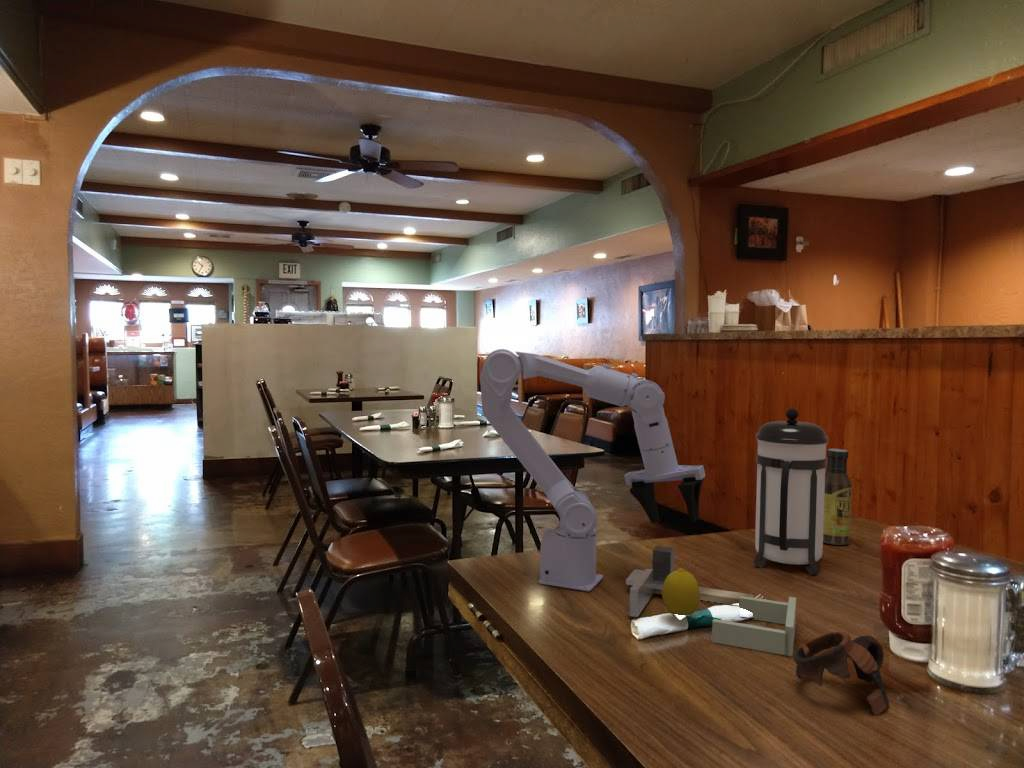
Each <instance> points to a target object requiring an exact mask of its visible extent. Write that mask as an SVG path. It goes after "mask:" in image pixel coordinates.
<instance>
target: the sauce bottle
mask: <svg viewBox="0 0 1024 768" xmlns="http://www.w3.org/2000/svg"><path fill="white" fill-rule="evenodd" d="M826 457H827V467H826V470H827V471H825V493H824V524H823V544H824V543H825V544H829V545H834V546H843V545H844V546H845V545H848V544H849V542H850V536H851V519H852V503H853V483H852V480H851V478H850V476H849V474H848V473H847V471H848V469H847V467H848V458H849V450H846V449H842V448H828V449H827V450H826Z"/></svg>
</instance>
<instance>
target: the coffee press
mask: <svg viewBox="0 0 1024 768" xmlns="http://www.w3.org/2000/svg"><path fill="white" fill-rule="evenodd" d="M785 416H786V418H787V420H776V421H769V422H766V423H764V424H763V425H761V426H760V427H759V429H758V432H756V433H755V438H756V441H757V452H756V455H755V463H756V465H757V466H756V494H755V495H756V497H755V498H756V501H755V502H756V504H755V542H754V543H755V550H756V552H757V554H756V555H755V557H754V559H753V562H752V563H753V565H754V566H755V567H758V568H760V569H762V568H764V567H765V566H766V564H767V563H768V562H772V561H773V562H775V563H776V562H777V563H781V564H785V565H787V564H788V565H800V566H802V567H803V568H804V569H805V570H806V572H807V574H808V575H809V576H816V575H819V574H820V569H819V567H818V565H817V562H821V561H822V558H823V557H822V556H823V547H824V545H823V544H824V542H823V524H824V493H825V474H826V469H827V467H828V456H827V445H828V443H829V436H827V434H826V431H825V429H823V428H822V427H821V426H820V425H818V424H815V423H812V422H807V421H800V420H799V421H798V420H797V419H798V418H799V417H798V416H800V414H799V411H798V410H797V409H796V408H793V407H792V408H789V409H787V410H786V412H785ZM762 558H763V559H762Z"/></svg>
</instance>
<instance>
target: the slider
mask: <svg viewBox="0 0 1024 768" xmlns="http://www.w3.org/2000/svg"><path fill="white" fill-rule="evenodd" d="M673 571H675V547H671V546H663V545H662V546H661V545H656V546H655V547H654V548H653V550H652V568H645V569H644V570H643V569H638V568H637V569H635V568H634V569H633V571H632V572H631V573H630V575H628V577H626V579H625V585H627V586H631V587H629V617H633V618H638V617H639V616H640V614H641V613H642V611H643V610H644V608H645V607H646V606H647V604H648V602H649V601H650V600H651V598H652V596H653V595H654V593H653V589H660V590H663V585H664V581H665V579H666V577H667V576H668V575H669V574H670V573H671V572H673Z"/></svg>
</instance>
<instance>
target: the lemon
mask: <svg viewBox="0 0 1024 768" xmlns="http://www.w3.org/2000/svg"><path fill="white" fill-rule="evenodd" d="M699 587H700V586H699V582H698V581H697V579H696V578H695V576H694V575H693V574H692V573H691V572H689V571H687V570H685V569H684V568H682V567H679V568H678V569H677V570H674V571H673V572H671V573H670V574H669V575H668V576H667V577H666V579H665V581H664V585H663V590H662V594H661V595H662V596H661V597H662V602H663V606H664V607H665V609H666V610H667V611H668V613H670V614H671V615H672V614H678V615H690V616H692V615H693V614H694V613H695V612H696V611H697V609H698V608H699V606H700V601H701V600H700V592H699ZM691 614H692V615H691Z"/></svg>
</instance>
